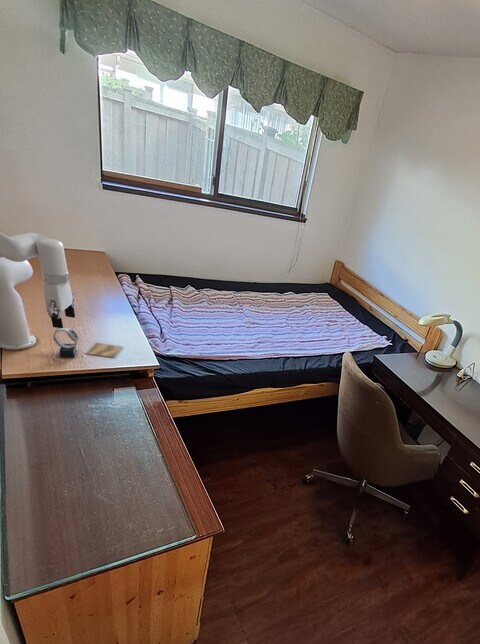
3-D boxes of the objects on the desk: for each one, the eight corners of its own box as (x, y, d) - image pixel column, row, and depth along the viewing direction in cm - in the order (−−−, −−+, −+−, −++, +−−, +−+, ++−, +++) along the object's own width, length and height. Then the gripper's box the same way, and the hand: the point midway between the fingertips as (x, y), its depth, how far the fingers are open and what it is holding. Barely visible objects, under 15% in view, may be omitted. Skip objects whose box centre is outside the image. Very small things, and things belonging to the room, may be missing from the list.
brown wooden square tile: (87, 354, 153) (87, 353, 153) (96, 343, 160) (96, 343, 160) (113, 357, 155) (113, 357, 154) (121, 347, 162) (121, 346, 162)
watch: (80, 357, 150) (76, 332, 143) (55, 357, 146) (50, 331, 140) (81, 350, 154) (78, 326, 148) (58, 350, 150) (53, 324, 144)
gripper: (56, 267, 139) (64, 311, 149) (30, 283, 125) (41, 330, 135) (78, 271, 141) (85, 314, 150) (55, 287, 126) (64, 333, 136)
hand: (64, 322), depth 142 cm, fingers open, 9 cm apart
